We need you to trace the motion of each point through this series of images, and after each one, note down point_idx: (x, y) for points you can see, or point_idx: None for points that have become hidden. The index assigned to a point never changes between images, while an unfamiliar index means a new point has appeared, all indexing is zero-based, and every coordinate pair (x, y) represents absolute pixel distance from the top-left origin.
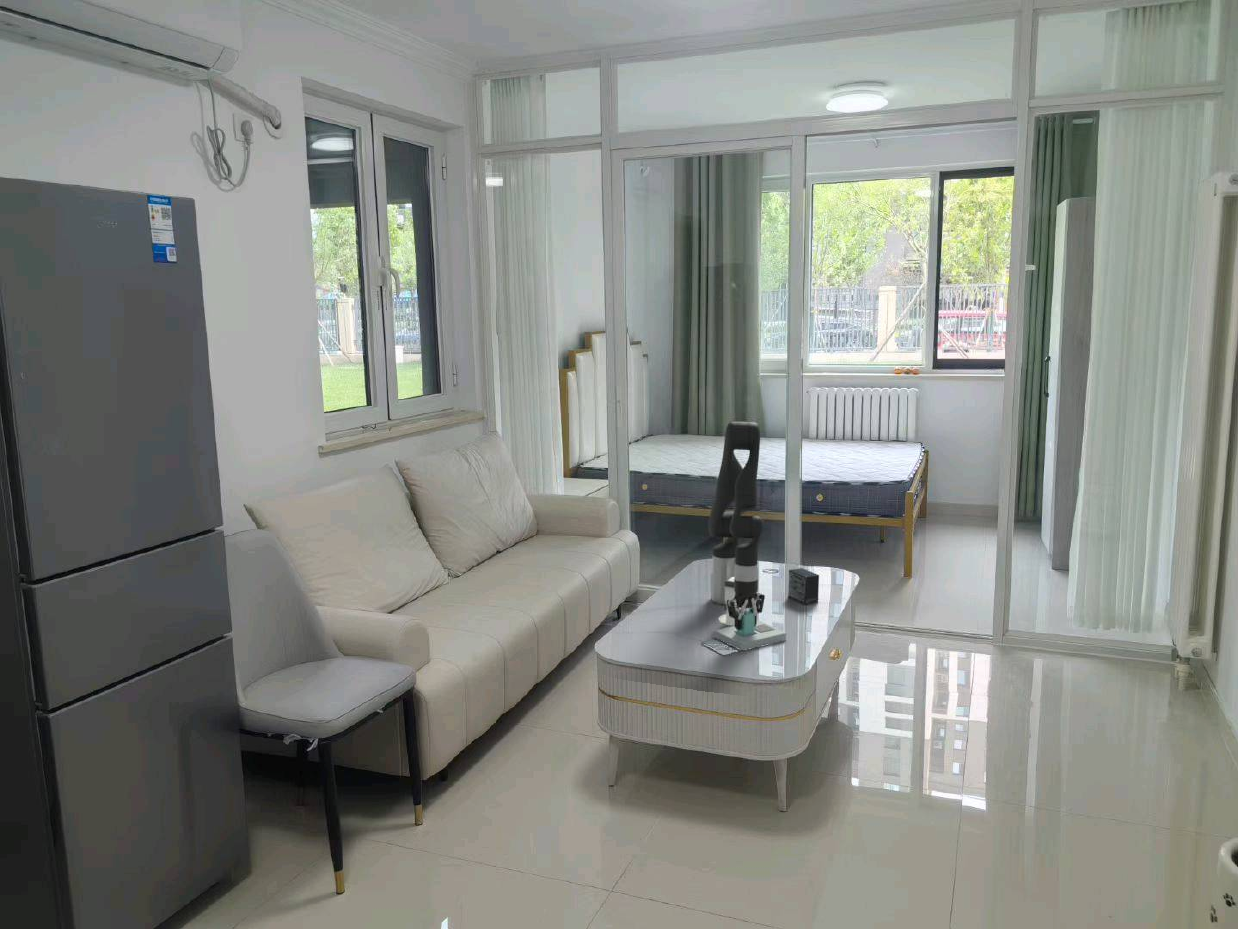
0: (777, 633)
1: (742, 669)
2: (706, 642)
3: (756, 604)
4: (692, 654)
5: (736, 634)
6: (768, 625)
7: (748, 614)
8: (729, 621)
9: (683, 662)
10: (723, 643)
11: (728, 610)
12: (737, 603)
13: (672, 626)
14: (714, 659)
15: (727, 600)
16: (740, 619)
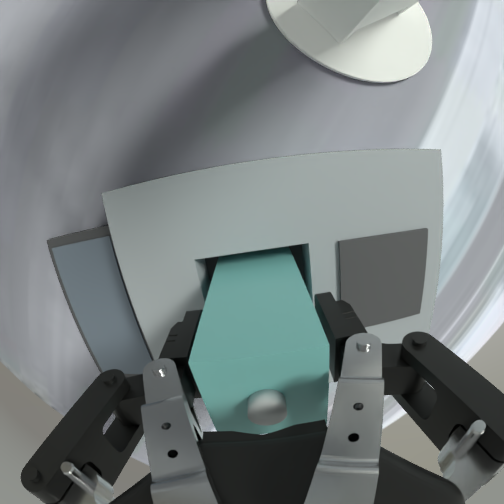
0: None
1: (141, 444)
2: (62, 253)
3: (435, 387)
4: (22, 314)
5: (193, 306)
6: (436, 249)
7: (264, 430)
8: (311, 14)
9: (9, 346)
10: (125, 296)
11: (72, 414)
12: (148, 488)
13: (46, 16)
14: (77, 376)
15: (25, 485)
16: (194, 396)
